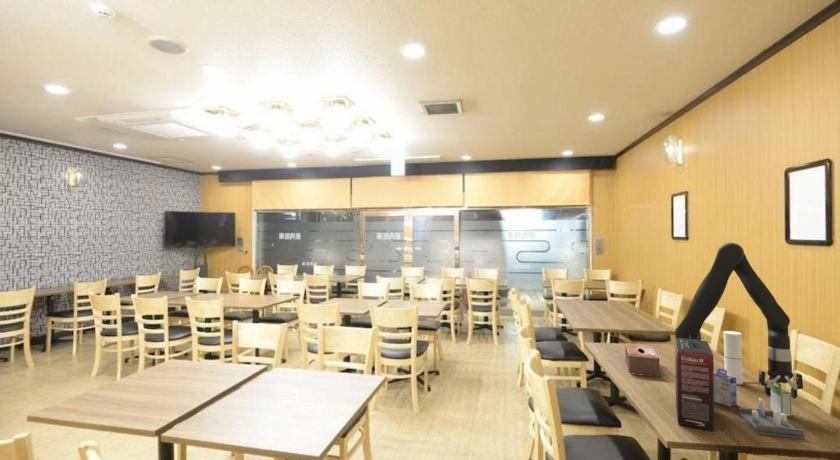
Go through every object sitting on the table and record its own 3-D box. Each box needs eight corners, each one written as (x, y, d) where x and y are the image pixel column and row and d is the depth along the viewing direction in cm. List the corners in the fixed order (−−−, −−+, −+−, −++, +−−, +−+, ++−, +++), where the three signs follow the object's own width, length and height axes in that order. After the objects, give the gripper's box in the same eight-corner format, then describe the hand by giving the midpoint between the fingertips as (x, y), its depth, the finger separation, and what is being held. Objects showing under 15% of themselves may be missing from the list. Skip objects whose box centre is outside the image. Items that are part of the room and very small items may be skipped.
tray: (757, 433, 153) (757, 411, 153) (739, 414, 169) (738, 394, 169) (804, 438, 148) (803, 416, 148) (780, 418, 164) (779, 398, 164)
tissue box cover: (659, 377, 214) (659, 358, 215) (629, 374, 220) (629, 355, 220) (652, 363, 238) (652, 346, 238) (625, 360, 244) (625, 344, 244)
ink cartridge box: (737, 405, 178) (736, 372, 178) (731, 407, 176) (730, 374, 176) (713, 397, 187) (712, 365, 187) (706, 399, 184) (705, 367, 185)
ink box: (792, 417, 165) (791, 384, 166) (781, 416, 166) (780, 383, 166) (781, 410, 172) (780, 378, 172) (770, 409, 173) (769, 378, 173)
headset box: (675, 402, 181) (673, 329, 182) (710, 408, 175) (707, 332, 175) (677, 425, 160) (675, 342, 161) (717, 432, 154) (714, 346, 154)
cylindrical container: (727, 383, 204) (726, 333, 204) (723, 378, 210) (721, 330, 211) (745, 385, 201) (743, 334, 201) (739, 380, 207) (738, 331, 208)
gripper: (763, 359, 168) (764, 398, 168) (805, 362, 164) (807, 402, 163) (754, 354, 176) (756, 392, 175) (795, 356, 171) (797, 395, 170)
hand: (781, 397), depth 169 cm, fingers open, 8 cm apart
